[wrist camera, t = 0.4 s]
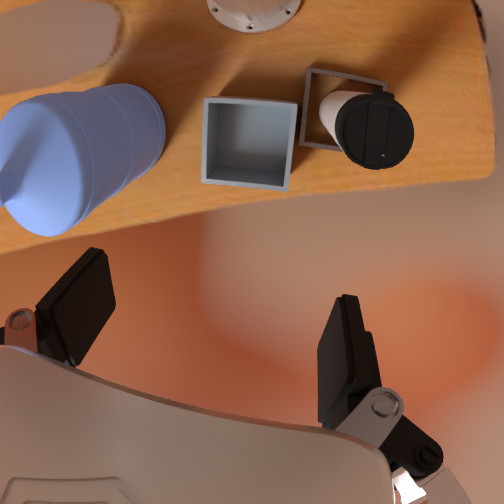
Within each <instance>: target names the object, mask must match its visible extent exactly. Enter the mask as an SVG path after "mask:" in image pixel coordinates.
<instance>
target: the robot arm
mask: <svg viewBox="0 0 504 504" xmlns="http://www.w3.org/2000/svg"><path fill="white" fill-rule="evenodd" d="M206 1H207V5H208V8H209V10H210V12H211V14H212V15H213V16H214V17H215V19H216V20H217V21H219V22H220V23H221V24H223V25H224V26H226V27H227V28H230V29H232V30H234V31H238V32H242V33H252V34H253V33H263V32H268V31H271V30H274V29H276V28H279V27H280V26H282V25H284V24H285V23H287V22H288V21H289V20H290V19H291V18H292V17H293V16H294V15H295V13H296V12H297V10H298V8H299V6H300V2H301V0H206ZM216 9H218V11H217V12H215V10H216ZM288 11H289V12H290V14H287V12H288ZM249 27H252V29H251V30H250V29H249ZM115 306H116V301H115V296H114V291H113V285H112V281H111V274H110V268H109V263H108V256H107V254H105V252H104V250H102V249H98V248H93V247H91V248H89V249H88V250H87V251H86V252H85V253H84V254H83V255H82V256H81V257H80V258H79V259H78V260H77V261H76V262H75V263H74V264H73V265H72V266H71V267H70V268H69V269H68V271H67V272H66V273H65V274H64V275H63V276H62V277H61V278H60V279H59V280H58V281H57V282H56V284H55V285H54V286H53V287H52V288H51V289H50V290H49V291H48V292H47V293H46V295H45V296H44V297H43V298H42V299H41V300H40V301H39V303H38V304H37V305H36V306H35V307H36V310H35V312H33V311H32V310H31V309H28V308H20V309H17V310H15V311H13V312H12V313H11V314H10V315H9V316H8V317H7V319H6V322H5V327H2V328H0V504H395V495H394V490H398V492H399V493H400V495H401V496H402V498H401V499H400V500H401V501H402V503H403V504H471V501H470V499H469V497H468V496H467V494H466V492H465V491H464V490H463V488H462V486H461V485H460V483H459V482H458V480H457V479H456V477H455V476H454V475H453V473H452V472H451V470H450V469H449V467H446V468H445V467H444V465H443V464H442V463H443V457H444V456H443V451H442V449H441V447H440V446H439V445H438V443H437V442H435V441H434V440H433V439H432V438H431V437H429V436H428V435H427V434H425V433H424V432H423V431H422V430H421V429H419V428H418V427H417V426H416V425H415V424H413V423H412V422H411V421H410V420H409V419H407V418H406V417H405V416H404V415H403V411H404V404H403V401H402V399H401V397H400V396H399V395H398V394H397V393H396V392H395V391H393V390H391V389H389V388H385V387H382V384H381V379H380V373H379V368H378V362H377V356H376V351H375V346H374V342H373V337H372V334H371V332H369V331H365V329H364V324H363V319H362V314H361V309H360V304H359V300H358V297H357V296H353V295H347V294H343V295H342V297H337V298H336V301H335V303H334V306H333V309H332V311H331V314H330V317H329V320H328V322H327V324H326V327H325V329H324V332H323V334H322V337H321V339H320V341H319V344H318V349H317V360H318V422H320V423H322V428H320V427H314V426H307V425H300V424H292V423H284V422H277V421H271V420H265V419H258V418H253V417H247V416H241V415H236V414H230V413H225V412H220V411H215V410H211V409H206V408H202V407H198V406H193V405H189V404H185V403H181V402H177V401H174V400H170V399H166V398H162V397H159V396H155V395H152V394H149V393H145V392H142V391H139V390H136V389H132V388H129V387H126V386H123V385H120V384H117V383H114V382H111V381H109V380H106V379H103V378H100V377H97V376H95V375H92V374H89V373H87V372H84V371H81V370H79V369H77V368H75V367H76V366H78V365H80V363H81V362H82V360H83V358H84V357H85V355H86V354H87V352H88V350H89V349H90V347H91V345H92V344H93V342H94V341H95V339H96V338H97V336H98V334H99V333H100V331H101V330H102V328H103V327H104V325H105V324H106V322H107V320H108V319H109V317H110V316H111V314H112V313H113V311H114V310H115Z"/></svg>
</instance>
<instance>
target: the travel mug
mask: <svg viewBox="0 0 504 504" xmlns="http://www.w3.org/2000/svg"><path fill="white" fill-rule="evenodd" d="M371 92H372V93H373V94H371V93H362V92H353V91H339V90H338V91H333V92H331V93H329V94H327V95H326V96H325V97H324V98H323V99H322V101H321V103H320V105H319V117H320V120H321V122H322V124H323V125H324V126H325V128H326V129H327V130H328V132H329V133H330V134H331V136H332V137H333V138H334V140H335V141H336V143H337V144H338V145H339V147H340V148H341V149H342V151H343V152H344V153H345V154H346V155H347V157H348V158H349V159H350V160H351V161H352V162H354V163H356V164H358V165H360V166H362V167H364V168H367V169H371V170H379V169H386V168H391V167H394V166H395V165H397V164H399V163H400V162H401V161H402V160H403V159H404V158H405V157H406V156H407V154H408V153H409V151H410V149H411V147H412V144H413V140H414V128H413V123H412V120H411V118H410V116H409V114H408V112H407V111H406V110H405V108H404V107H403V106H402V105H401V104H399V103H398V102H397V101H395V100H394V94H391V93H389V92H386V91H382V90H371Z"/></svg>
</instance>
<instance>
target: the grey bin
mask: <svg viewBox="0 0 504 504" xmlns="http://www.w3.org/2000/svg"><path fill="white" fill-rule="evenodd" d="M297 106H298V104H297V102H295V101H287V100H277V99H267V98H255V97H239V96H212V97H205V98H204V103H203V130H202V177H201V183H208V184H219V185H230V186H240V187H249V188H259V189H267V190H276V191H284V192H288V186H289V178H290V170H291V161H292V152H293V144H294V135H295V125H296V116H297Z"/></svg>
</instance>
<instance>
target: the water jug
mask: <svg viewBox="0 0 504 504" xmlns="http://www.w3.org/2000/svg"><path fill="white" fill-rule="evenodd" d="M165 137H166V126H165V120H164V116H163V113H162V110H161V108H160V106H159V104H158V103H157V101H156V100H155V99H154V97H153V96H152V95H151V94H150V93H148V92H147V91H146V90H144V89H143V88H141V87H138V86H136V85H133V84H127V83H120V84H112V85H108V86H101V87H95V88H91V89H89V90H86V91H84V92H61V93H50V94H44V95H39V96H36V97H33V98H30V99H28V100H24V101H22V102H20V103H18V104H16V105H15V106H13V107H12V108H11V109H10V110H9V111H8V112H7V113H6V114H5V116H4V117H3V119H2V120H1V122H0V207H2V206H3V205H5V207H6V208H7V210H8V211H9V213H10V214H11V215H12V216H13V218H14V219H15V220H16V221H17V222H18V223H19V224H20V225H22V226H23V227H24V228H26V229H27V230H29V231H31V232H33V233H35V234H38V235H41V236H56V235H59V234H62V233H64V232H66V231H67V230H69V229H70V228H72V227H73V226H75V225H77V224H78V223H79V222H81V221H82V220H83V219H84V218H86V217H87V216H88V215H89V214H90V213H91V212H92V211H93V210H94V209H95V208H96V207H98V206H99V205H100V204H101V203H103V202H104V201H105V200H107V199H109V198H111V197H112V196H114V195H115V194H117V193H118V192H119V191H121V190H122V189H123V188H124V187H125V186H126V185H127V184H129V183H130V182H132V181H133V180H135V179H137V178H139V177H140V176H142V175H143V174H145V173H146V172H147V171H149V170H150V169H151V168H152V167H153V166H154V165H155V163H156V162H157V160H158V159H159V157H160V155H161V153H162V150H163V147H164V144H165Z"/></svg>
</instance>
